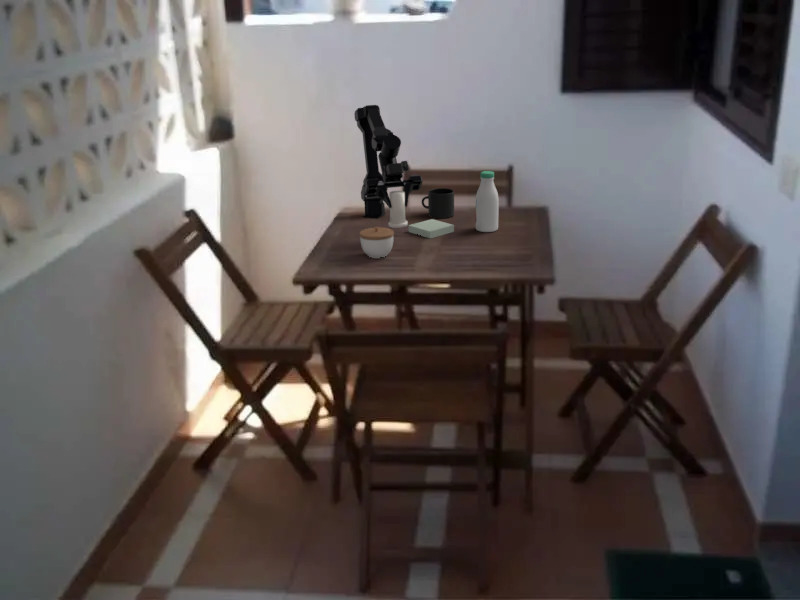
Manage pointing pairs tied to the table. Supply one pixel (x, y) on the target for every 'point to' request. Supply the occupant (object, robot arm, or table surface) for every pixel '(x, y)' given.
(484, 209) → the milk bottle
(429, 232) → the block
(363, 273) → the table surface
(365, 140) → the robot arm
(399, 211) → the white rounded piece
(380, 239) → the lidded jar
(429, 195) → the mug
